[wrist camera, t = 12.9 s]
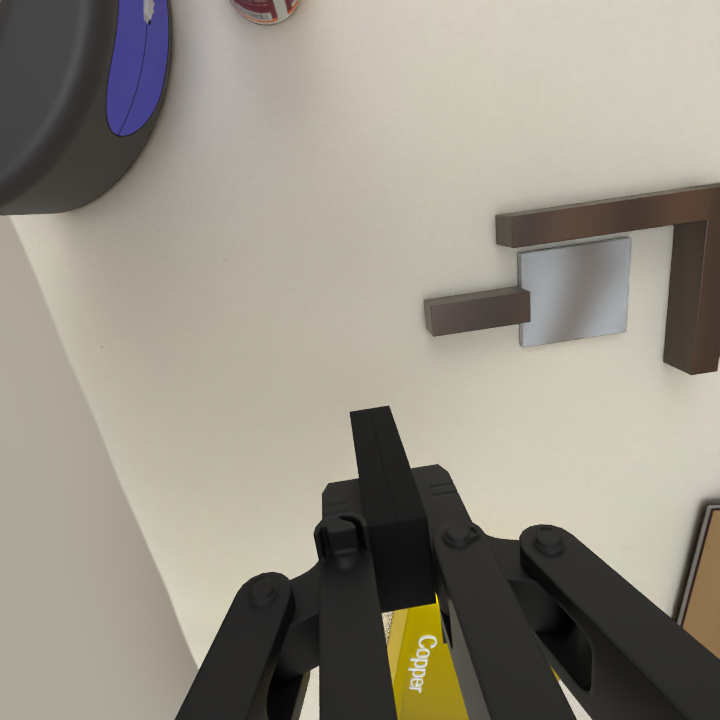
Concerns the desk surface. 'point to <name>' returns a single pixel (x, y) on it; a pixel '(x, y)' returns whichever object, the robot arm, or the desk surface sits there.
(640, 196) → the corner stop
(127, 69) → the leaning round-cornered charcoal block
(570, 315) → the spatula
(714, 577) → the book
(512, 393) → the desk surface
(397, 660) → the element tile
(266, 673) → the robot arm
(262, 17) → the pill bottle
